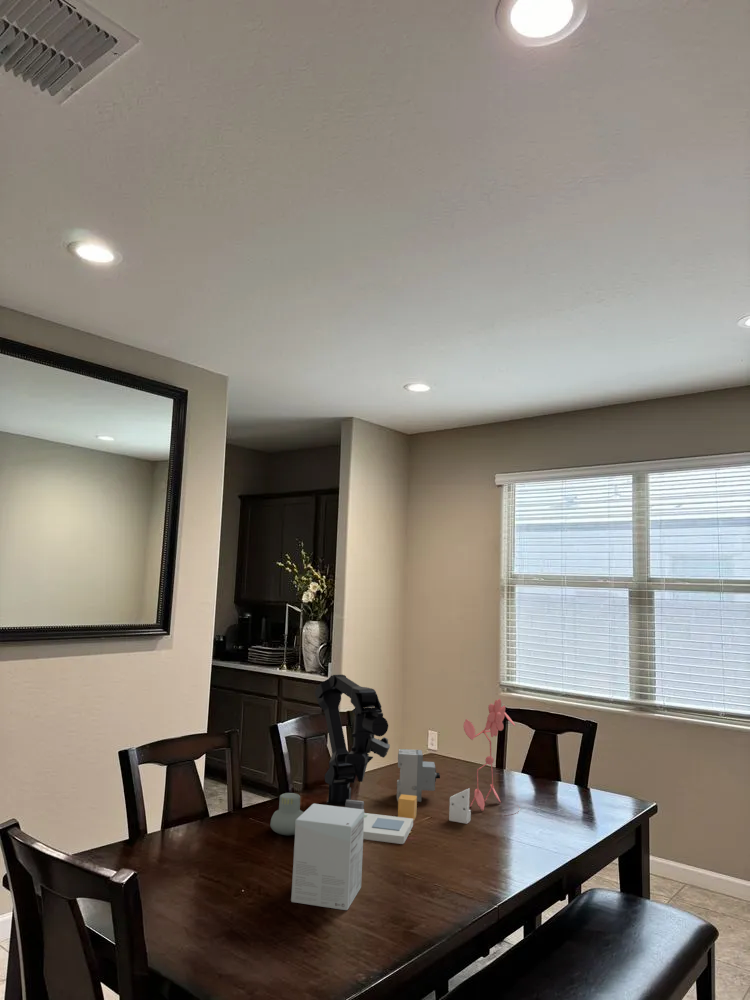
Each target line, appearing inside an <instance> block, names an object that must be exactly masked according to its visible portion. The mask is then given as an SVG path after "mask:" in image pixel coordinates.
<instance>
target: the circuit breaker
mask: <svg viewBox="0 0 750 1000" xmlns="http://www.w3.org/2000/svg"><path fill="white" fill-rule="evenodd" d="M423 756H424V755H423V750H422V749H406V748H405V749H400V748H399V749H398V753H397V768H400V769H399V779H397V780H396V801H397V802H398V799H399V797H400V796H401V794H403V795H413V796H417V803H418V802H419V803H422V793H423V792H422V791H433V792H434V791H436V781H437V779H441V774H440V772H437V769H436V765H435V761H425V760H423V759H424V757H423Z"/></svg>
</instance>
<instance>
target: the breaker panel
mask: <svg viewBox="0 0 750 1000" xmlns="http://www.w3.org/2000/svg"><path fill="white" fill-rule="evenodd" d="M413 827H414V821H413V819H412V818H404V817H398V816H395V815H393V816H392V815H385V814H376V813H367V812H364V830H363V840H368V841H374V842H375V841H376V842H383V843H384V842H385V843H392V844H398V845H399V844H400V845H405V843H406V840H407V838H408V836H409V834H410V833H411V830H412V828H413Z"/></svg>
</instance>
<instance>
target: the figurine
mask: <svg viewBox="0 0 750 1000" xmlns="http://www.w3.org/2000/svg"><path fill="white" fill-rule="evenodd" d="M488 712H489V714H488V715H487V717H486V719H487V720H486V723H485V727H484V729H483V730H481V731H480V732H479V733H477V734H476V728H475V726H474V724H473V722H471V721H470V720H469V719H468V718H467V719H465V721H464V722H463V731H464V732H465V735H466V736H467V737H468V738H469V739H470V740H471V741H473V740H474V739H475V738H476V737H478V736H479V735H481V734H484V735H485V737H486V738H487V741H488V742H489V755H488V756H486V757H485V759H484V760H485V764H483V765H482V766H480V767H479V768H477V769H476V779H477V780H476V781H477V782H476V784H477V785H476V786H477V788H475V790H474V792H473V795H474V797H473V799H472V801H470V803H469V808H471V807H472V806H473V803H474V801H475V802H476V804H477V806H478V807H479V809H480V811H482V812H483V811H484V810H485V802H486V801H487V800H488V798H489V796H490V794H491V791H492V792H493V794H494V796H495V798H496V800H497V801H498V802H499V803H500V804H501V803H502V802H501V800H500V797H499V795H498V793H497V791H496V790H495V786H494V775H493V773H494V771H493V764H494V762H495V761H494V758H493V757H492V741H491V739H490V737H491V738H493V737H497V736H498V734H499V731H500V732H501V731H503V730H504V719H505V718H506V719H507V720H508V722H510V724H512V725H513V726H514V727H516V724H515V722H514V721H513V720H512V718H511V717H510V716H509V715H508V714H507V712H506V705H503V706H502V700H501V698H498V699H495V701H494V704H493V703H489V705H488ZM487 733H490V737H489V736H488V735H487ZM486 765H488V766H489V765H491V767H490V768H491V769H490V770H491V783H490V784H489V786H490V789H489V790H488V792H487V794H486V796H485V798H484V795H483V793H482V792H481V790H480V789H479V770H481V769H482V768H483V767H485V766H486ZM518 807H519V809H520V806H518ZM519 811H520V810H518V811H517V812H514V813H512V814H510V816H512V815H513V816H514V815H515V814H517V815H518V814H519ZM503 816H504V817H507V816H509V814H507V815H506V814H505V815H503Z"/></svg>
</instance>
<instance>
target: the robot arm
mask: <svg viewBox="0 0 750 1000" xmlns="http://www.w3.org/2000/svg"><path fill="white" fill-rule="evenodd" d="M314 694H315V697H316V700H317V705H319V707H320V708H321V709H322V711H324V712H323V713H324V716H325V721H326V726H327V727H326V728H327V733H328V738H329V744H330V748H331V756H330V760H329V762H328V763H329V764H328V765H329V768H328V769H327V771H326V772H325V774H324V782H325V783H326V784H328V797H327V798H328V799H327V801H326V805H335V806H345V802H346V800H348V799H349V800H352V797H351V795H352V786H351V787H350V785H351V784H354V783H355V781H356V780H355V779H356V778H357V780H358V782H360V783H362V782H363V781H364V777H365V774H366V769H367V767H368V764H369V763H370V761H372V760H373V758H374V756H371V755H370V754H371V752H372V753H373V754H376V755H378V756H379V757H381V758H385V757H386V756H387V755H388V752H389V749H390V746H391V745H390V744H389V739H388V738H386V737H383V736H384V735H386V734H387V732H388V730H389V722H388V720H387V719H386V718H385V717H384V713H383V710H382V705H381V702H380V700H379V696H378V694H377V692H376V690H375V689H374V688H373V687H372V688H370V687H367V686H366V687H365V686H360V685H359V684H357V683H356V682H354V681H353V680H351V679H350V678H349V677H347V676H346V675H345V674H332V675H330V676H329V678H327V679H325V680H323V681H322V682H320V683H319V685H318V686H317V687H316V688H315V692H314ZM343 694H344V695H345V696H347V697H349V699H350V704H351V705H353V707H354V708H353V709H352V712H351V713H353V714H354V724H353V726H354V727H353V732H352V733H351V734H352V736H351V737H352V738H353V743H352V746H351V751H349V750H348V749H347V745H346V739H345V735H344V729H343V725H342V724H343V723H342V720H341V719H342V718H341V715H340V709H339V707H340V704H341V701H342V695H343ZM375 736H377V737H382V738H381V739H380V738H375Z"/></svg>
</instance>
